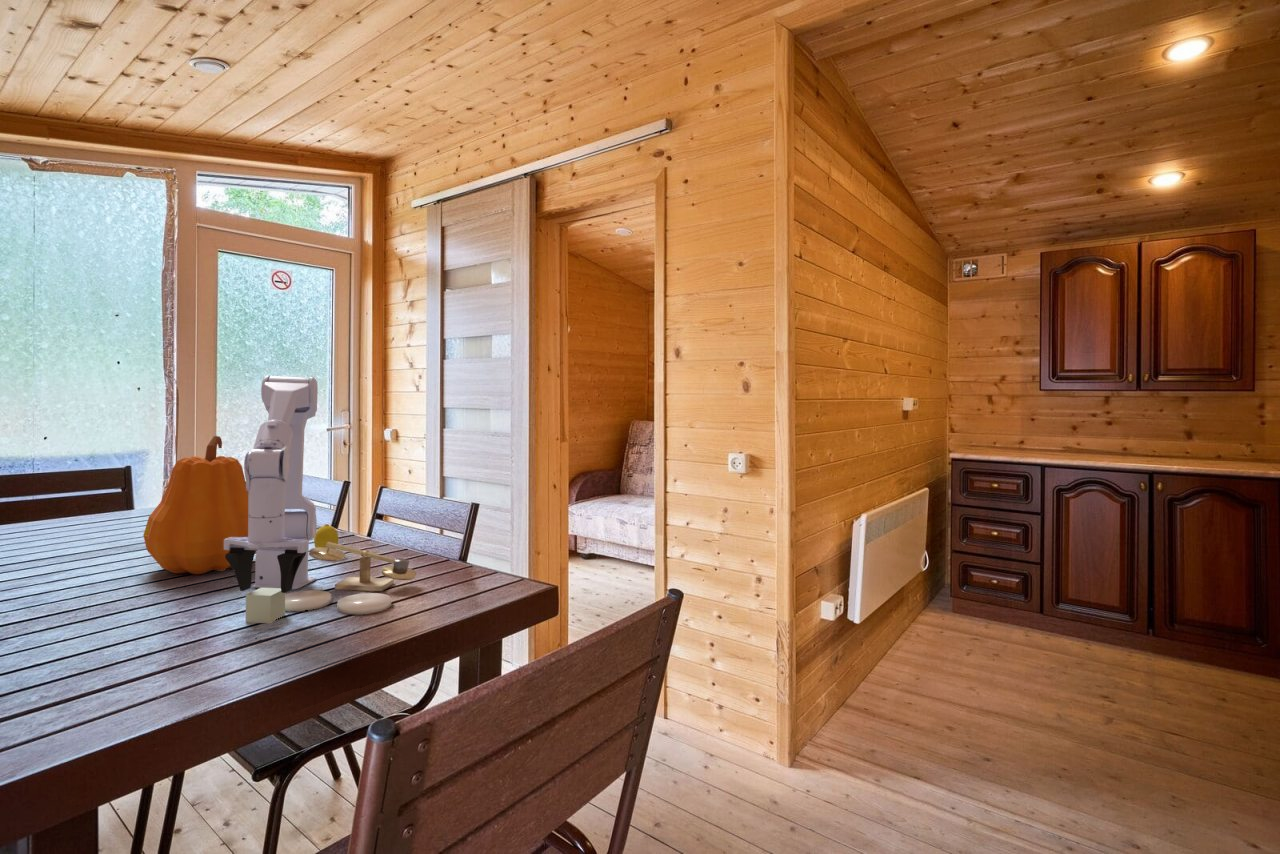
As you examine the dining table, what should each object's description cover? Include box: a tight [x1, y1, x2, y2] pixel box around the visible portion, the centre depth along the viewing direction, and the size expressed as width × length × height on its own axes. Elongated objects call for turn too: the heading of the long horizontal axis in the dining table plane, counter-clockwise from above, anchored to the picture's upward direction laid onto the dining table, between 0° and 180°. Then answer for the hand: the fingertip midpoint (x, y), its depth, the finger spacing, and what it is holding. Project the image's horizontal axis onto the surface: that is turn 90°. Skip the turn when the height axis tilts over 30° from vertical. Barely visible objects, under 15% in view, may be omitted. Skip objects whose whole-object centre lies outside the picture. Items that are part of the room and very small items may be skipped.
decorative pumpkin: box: [143, 435, 257, 575], centre depth 151 cm, size 24×24×30 cm
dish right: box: [336, 592, 392, 616], centre depth 128 cm, size 10×10×1 cm
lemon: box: [313, 523, 340, 549], centre depth 166 cm, size 6×6×8 cm
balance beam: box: [308, 542, 417, 581], centre depth 141 cm, size 23×7×3 cm, turn 88°
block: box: [245, 587, 286, 624], centre depth 119 cm, size 4×4×5 cm
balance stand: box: [334, 556, 395, 592], centre depth 141 cm, size 10×6×6 cm, turn 88°
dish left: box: [285, 589, 332, 612], centre depth 128 cm, size 10×10×1 cm
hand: (265, 590), depth 119 cm, fingers open, 7 cm apart
